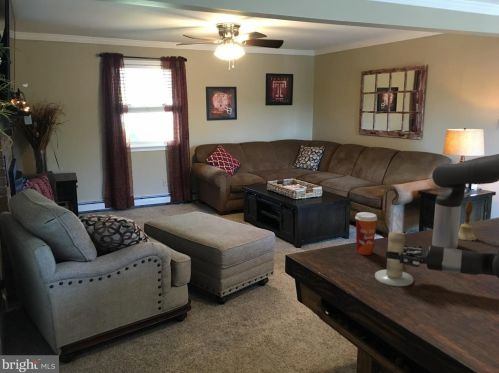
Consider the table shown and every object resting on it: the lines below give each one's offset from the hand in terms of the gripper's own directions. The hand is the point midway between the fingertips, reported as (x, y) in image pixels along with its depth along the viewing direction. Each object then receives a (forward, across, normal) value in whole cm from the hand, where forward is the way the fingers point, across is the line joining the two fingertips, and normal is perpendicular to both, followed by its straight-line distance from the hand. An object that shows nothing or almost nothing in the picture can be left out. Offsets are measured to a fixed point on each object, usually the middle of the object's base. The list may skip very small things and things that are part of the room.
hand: (387, 251), depth 137 cm
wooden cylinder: (-3, 0, +8) cm, 8 cm away
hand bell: (-26, -56, +9) cm, 62 cm away
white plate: (-3, 0, +9) cm, 9 cm away
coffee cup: (+10, -21, +9) cm, 25 cm away
